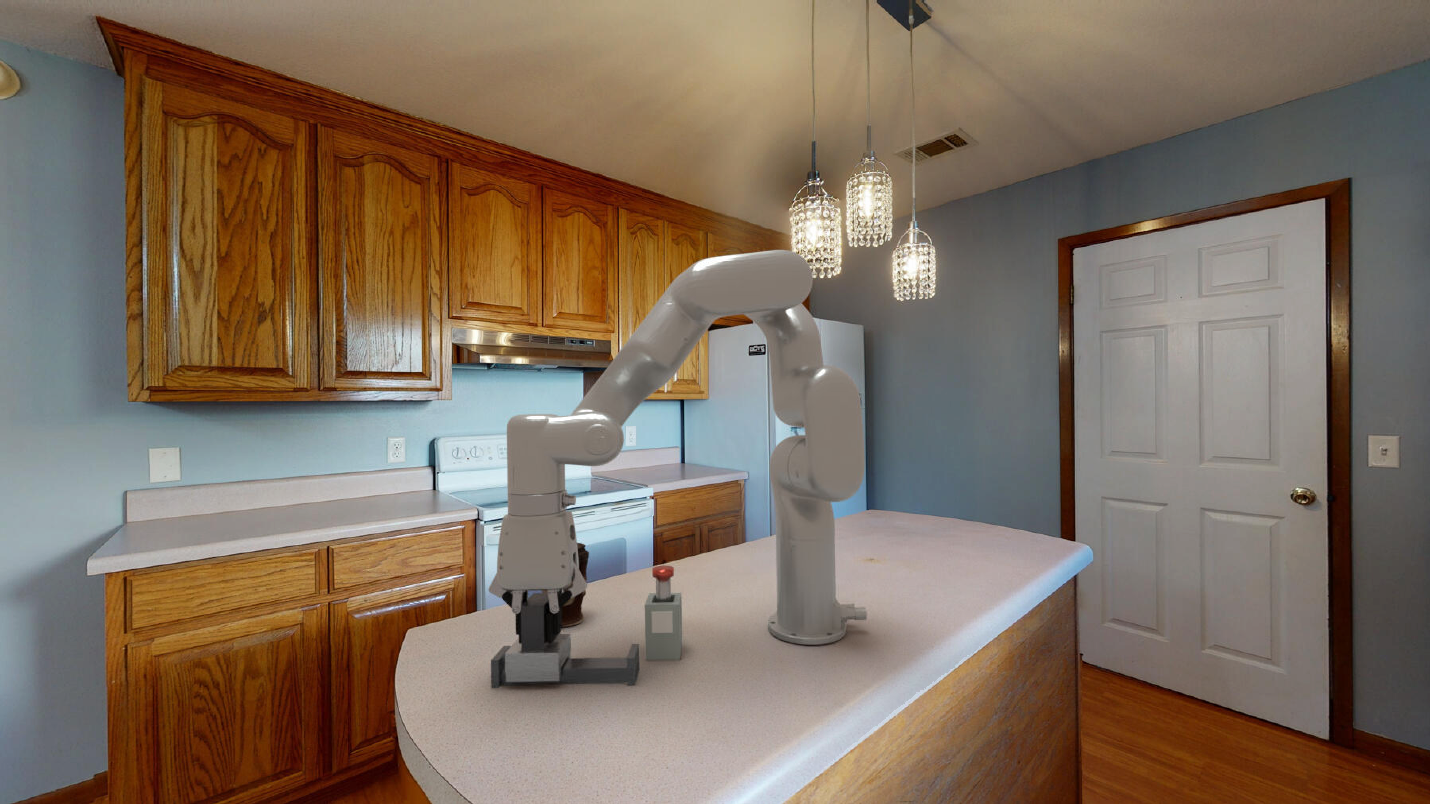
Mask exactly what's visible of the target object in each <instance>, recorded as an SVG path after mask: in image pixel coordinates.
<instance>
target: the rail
mask: <svg viewBox="0 0 1430 804" xmlns="http://www.w3.org/2000/svg"><path fill="white" fill-rule="evenodd" d="M511 646H512V645H503V646H502V647H501V648H500V649H499V650H498V652H496V654H495V655H494V656H493V658H492V659H490V677H491V678H490V679H491V682H490V684H491V685H490V687H491V688H493V689H494V688H500V687H501V686H503V685H505V686H507V685H510V686H514V685H565V684H569V685H570V684H571V685H574V684H575V685H576V684H581V685H582V684H626V685H627V686H636V682H637V680H638V679H637V678H638V675H639V672H640V643H632V644H630V648H629V652H628V654H627V656H626V657H581V658H578V657H575V658H572V657H571V658H569V659H566V660H565V662H564V664H563V665H562V667H561V679H560V681H538V682H506V673H505V653H506V652H507V651H508V649H509V648H510V647H511Z"/></svg>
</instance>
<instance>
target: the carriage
mask: <svg viewBox="0 0 1430 804" xmlns="http://www.w3.org/2000/svg"><path fill="white" fill-rule="evenodd" d="M549 607H550V606H549V598H548V593H542V592H533V593H532V594H531V595H530V596H528V599H527V600H526V601H525V602H524V603H523V604H522V605H521V644H519V637H518V638H517V639H516V640H515V641H514V642H513V644H512V645H510V646H511V647H510V648H509V649H508V651H507V652H506V653H505V673H506V682H538V681H560V679H561V667H562V665H563V664H564V662H565V660H566V659H569V658H572V657H571V656H572V655H571V653H572V644H571V643H572V642H571V640H572V639H571V638H572V637H571V633H560V634H558V636H557V637H556V638H555V640H554V641H553V643H548V642H547V637H546V615H547V613H548V612H549Z"/></svg>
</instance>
